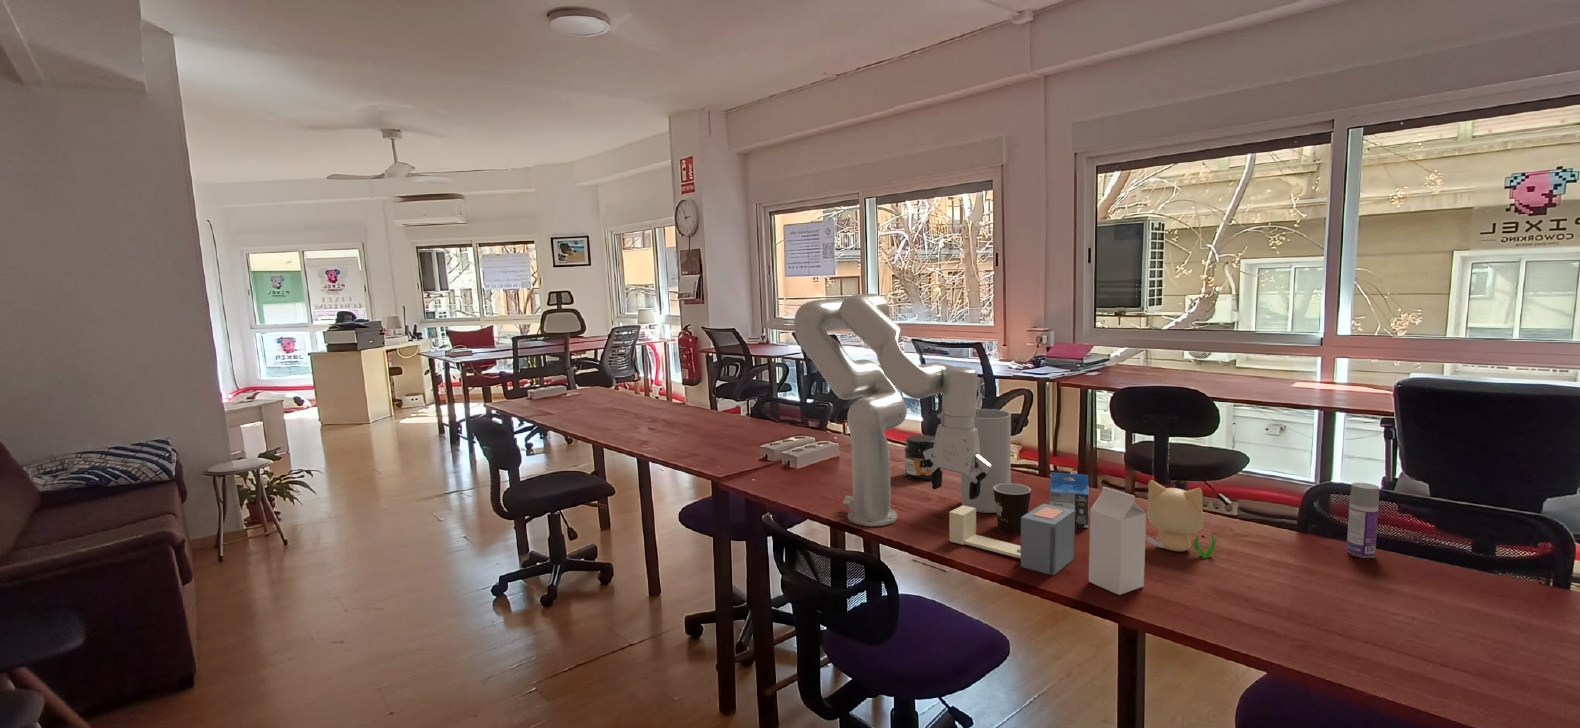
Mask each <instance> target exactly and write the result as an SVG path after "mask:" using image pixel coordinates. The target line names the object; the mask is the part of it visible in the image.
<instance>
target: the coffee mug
mask: <svg viewBox="0 0 1580 728" xmlns="http://www.w3.org/2000/svg"><path fill="white" fill-rule="evenodd" d="M993 489H994V497H995V505H996V514H995V515H996V520H997V528H998V530H999V532H1003V533H1006V534H1013V535H1015V534H1016V535H1017V534H1021V517H1022V516H1024V515H1026V514H1027V513H1029V511H1030V510H1029V509H1030V502H1031V501H1030V500H1031V494H1032V489H1031V488H1030V487H1029V486H1027V485H1024V484H1020V483H1012V482H1010V483H1005V484H998V485H995V486H994V487H993Z"/></svg>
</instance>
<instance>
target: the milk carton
mask: <svg viewBox="0 0 1580 728" xmlns="http://www.w3.org/2000/svg"><path fill="white" fill-rule="evenodd" d="M1146 523H1147V511H1145V510H1144V509H1143V508H1142V507H1141V506H1140V505H1139V504H1138V502H1136V496H1135V495H1132V494H1129V493H1126V492H1122V491H1120V490H1116V489H1113V488H1109V487H1105V486H1102V489H1101V493H1100V494H1099V496H1098V497H1097V498H1096V500H1095V502H1094V503H1093V505H1092V506H1091V507H1090V509H1089V539H1088V540H1089V541H1088V542H1089V543H1088V544H1089V549H1088V550H1089V551H1088V553H1089V554H1088V582H1089V583H1091V584H1093V585H1095V586H1097V587H1100V588H1102V589H1105V590H1107V591H1109V592H1111V593H1114V594H1116V595H1119V596H1121V595H1124V594H1126V593H1129V592H1131V591H1135V590H1138V589H1140V588H1143V587H1144V586H1145V565H1146V564H1145V558H1146V556H1145V555H1146V554H1145V553H1146V541H1145V532H1146V530H1147V528H1146V526H1147V525H1146Z"/></svg>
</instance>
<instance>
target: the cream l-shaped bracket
mask: <svg viewBox="0 0 1580 728" xmlns="http://www.w3.org/2000/svg"><path fill="white" fill-rule="evenodd" d="M948 514H949V515H948V516H949V518H948V519H949V521H948V522H949V524H948V525H949V529H948V530H949V542H950V543H956V544H959V545H963V546H964V545H968V546H971V547H975V548H978V549H983V550H986V551H990V552H994V553H998V554H1001V555H1006V556H1010V557H1013V558H1017V559H1020V560H1021V553H1018V552H1017V549H1019V548H1020V547H1021V545H1019V544H1015V543H1010V542H1006V541H1004V540H998V539H994V538H991V537H987V536H982V535H978V534H977V512H976V508H973V507H968V506H964V505H960V506H958V507H956V508H955V509H952V510H950V511H949V513H948Z"/></svg>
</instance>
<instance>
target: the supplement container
mask: <svg viewBox="0 0 1580 728" xmlns="http://www.w3.org/2000/svg"><path fill="white" fill-rule="evenodd" d="M934 440H935V436H933V435H928V434H927V435H926V434H917V435H916V434H915V435H910V436H907V437H906V438H905V445H906V446H905V447H904V475H905V477H907V478H908V479H909V480H912V479H913V481H918V480H928V481H932V472H931V471H930V468H929V466H928V465H927V463H926V459H925V457H924V454H923V451H926V450H928V449H931V448H933V447H934ZM932 458H933V454H932Z"/></svg>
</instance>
